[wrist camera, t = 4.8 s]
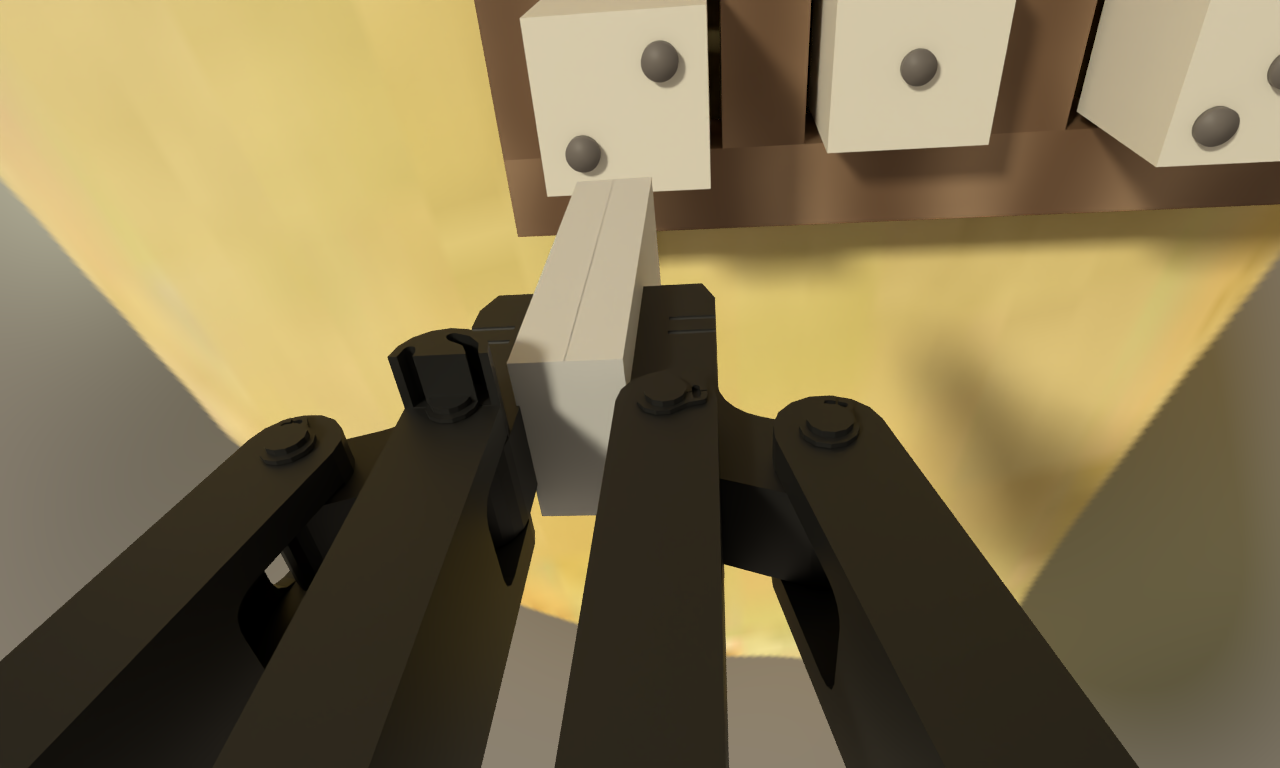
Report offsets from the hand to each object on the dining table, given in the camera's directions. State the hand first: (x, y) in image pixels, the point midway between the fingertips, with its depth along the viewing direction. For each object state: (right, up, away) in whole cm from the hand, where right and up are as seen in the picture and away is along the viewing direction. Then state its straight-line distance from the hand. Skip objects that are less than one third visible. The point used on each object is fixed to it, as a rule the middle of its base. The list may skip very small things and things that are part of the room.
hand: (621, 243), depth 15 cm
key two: (0, +9, +12) cm, 15 cm away
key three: (+19, +9, +10) cm, 24 cm away
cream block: (+10, +11, +14) cm, 20 cm away
